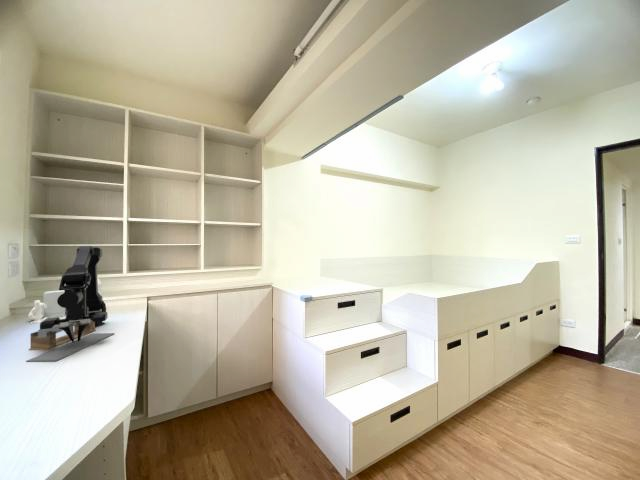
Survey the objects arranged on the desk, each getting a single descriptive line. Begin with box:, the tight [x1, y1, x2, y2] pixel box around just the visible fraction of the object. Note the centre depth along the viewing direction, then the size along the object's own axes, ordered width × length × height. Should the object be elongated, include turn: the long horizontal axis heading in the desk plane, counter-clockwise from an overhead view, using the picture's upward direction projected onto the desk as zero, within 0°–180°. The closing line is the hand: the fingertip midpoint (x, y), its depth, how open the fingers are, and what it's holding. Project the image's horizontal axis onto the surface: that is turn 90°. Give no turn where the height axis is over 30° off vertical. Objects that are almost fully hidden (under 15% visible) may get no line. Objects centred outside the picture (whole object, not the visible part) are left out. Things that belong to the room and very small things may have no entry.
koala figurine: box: [28, 299, 48, 324], centre depth 131 cm, size 8×7×12 cm
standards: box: [28, 320, 97, 351], centre depth 107 cm, size 22×7×6 cm, turn 2°
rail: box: [37, 315, 88, 338], centre depth 107 cm, size 22×3×3 cm, turn 9°
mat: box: [25, 332, 115, 363], centre depth 100 cm, size 10×26×1 cm, turn 2°
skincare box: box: [42, 289, 66, 319], centre depth 140 cm, size 8×6×15 cm
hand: (76, 341), depth 100 cm, fingers closed
